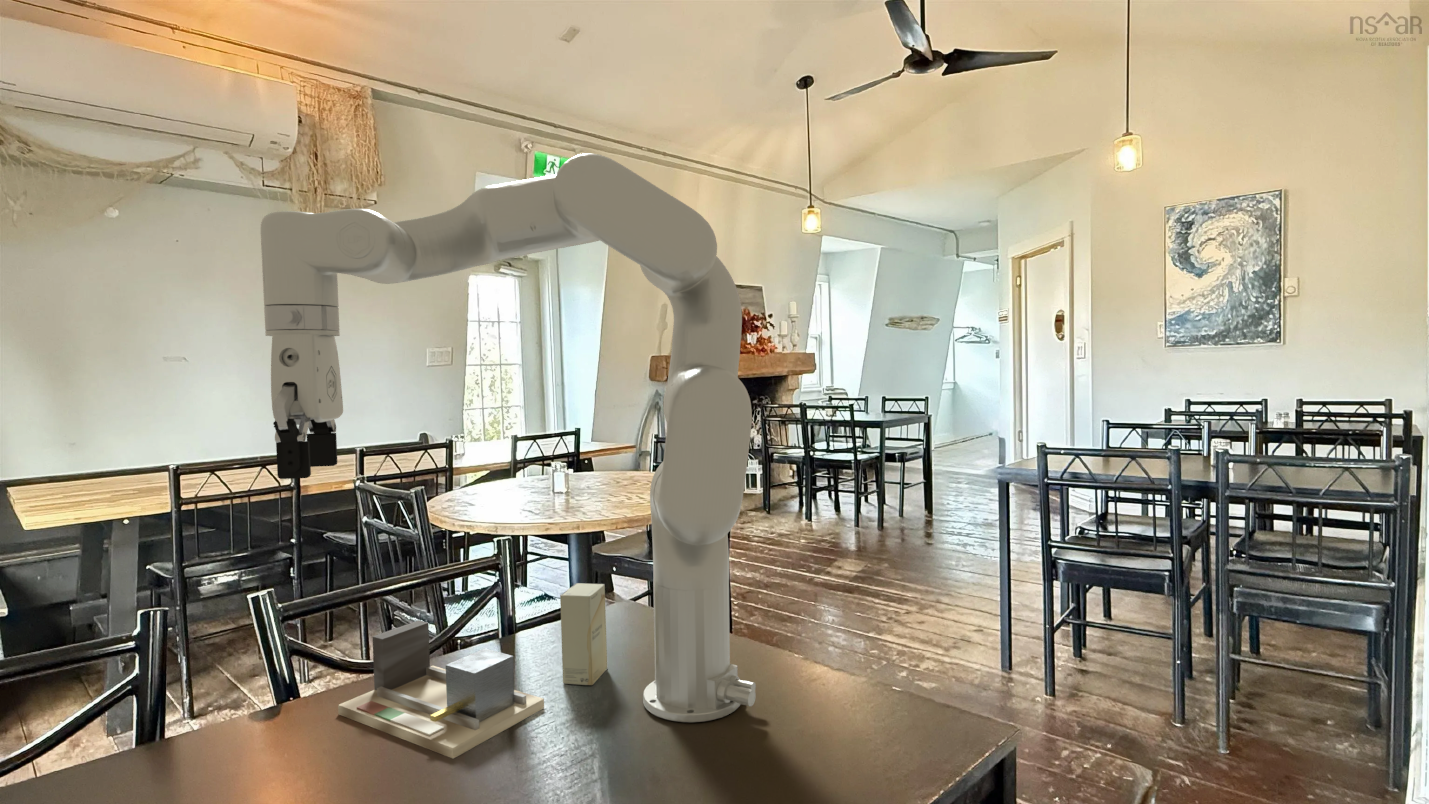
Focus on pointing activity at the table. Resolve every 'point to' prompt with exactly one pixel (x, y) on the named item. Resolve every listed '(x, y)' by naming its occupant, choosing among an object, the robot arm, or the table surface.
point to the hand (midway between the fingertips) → (309, 471)
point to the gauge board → (424, 697)
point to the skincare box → (583, 633)
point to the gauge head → (479, 685)
